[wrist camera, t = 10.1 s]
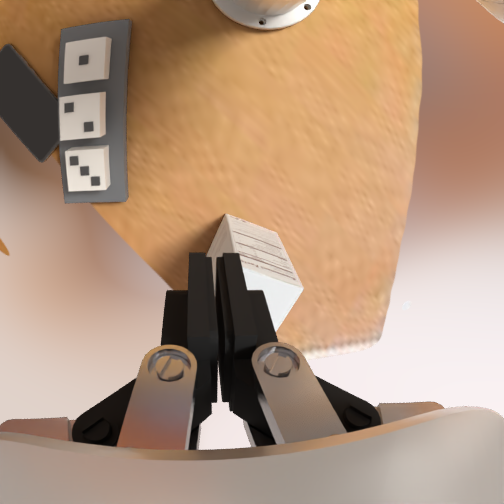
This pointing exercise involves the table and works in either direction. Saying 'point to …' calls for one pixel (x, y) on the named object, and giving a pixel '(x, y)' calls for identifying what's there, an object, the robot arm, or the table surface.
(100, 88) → the button board
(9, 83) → the smartphone
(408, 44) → the table surface
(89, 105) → the tile two
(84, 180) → the tile three
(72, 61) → the tile one
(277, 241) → the supplement box
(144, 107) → the table surface
